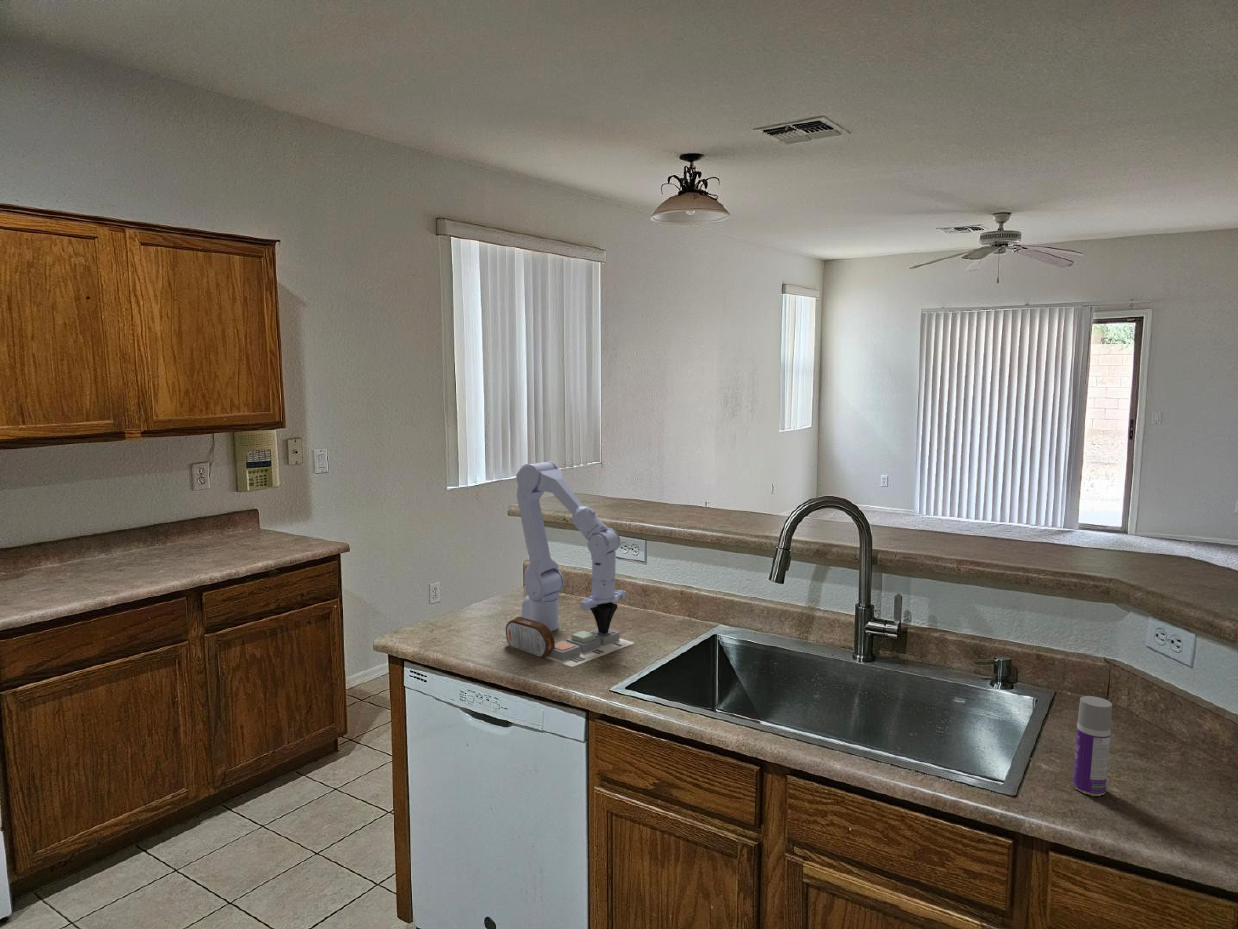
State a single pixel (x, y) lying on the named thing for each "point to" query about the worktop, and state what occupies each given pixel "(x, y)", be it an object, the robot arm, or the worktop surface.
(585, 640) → the key two
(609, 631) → the key one
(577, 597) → the worktop surface
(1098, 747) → the container
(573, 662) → the keypad
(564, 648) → the key three
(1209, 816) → the worktop surface
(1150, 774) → the worktop surface
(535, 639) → the tin
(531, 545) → the robot arm
